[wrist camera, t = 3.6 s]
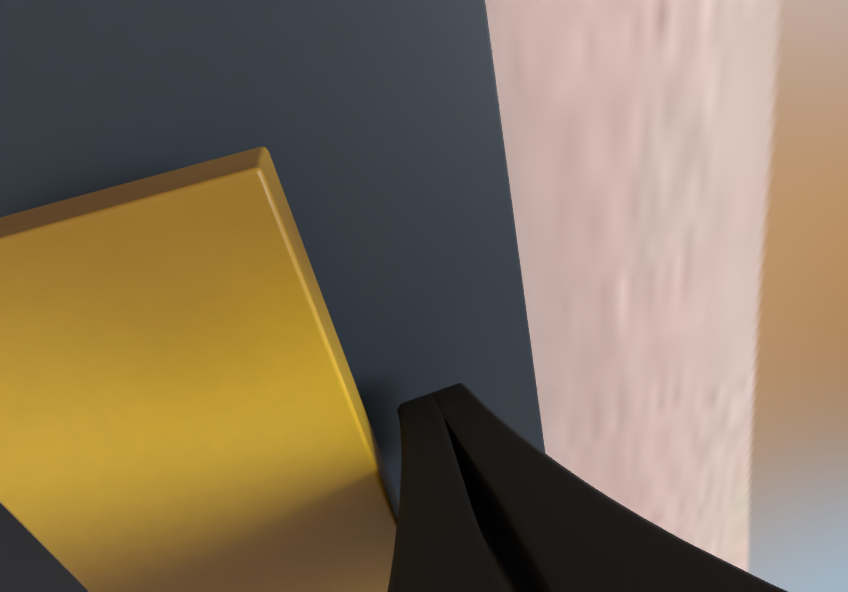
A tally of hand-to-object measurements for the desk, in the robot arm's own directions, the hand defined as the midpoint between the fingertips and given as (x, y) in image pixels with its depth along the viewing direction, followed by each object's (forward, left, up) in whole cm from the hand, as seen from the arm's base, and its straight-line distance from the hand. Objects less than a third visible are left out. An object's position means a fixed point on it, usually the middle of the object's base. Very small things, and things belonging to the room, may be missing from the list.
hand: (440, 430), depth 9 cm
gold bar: (0, +3, -1) cm, 4 cm away
